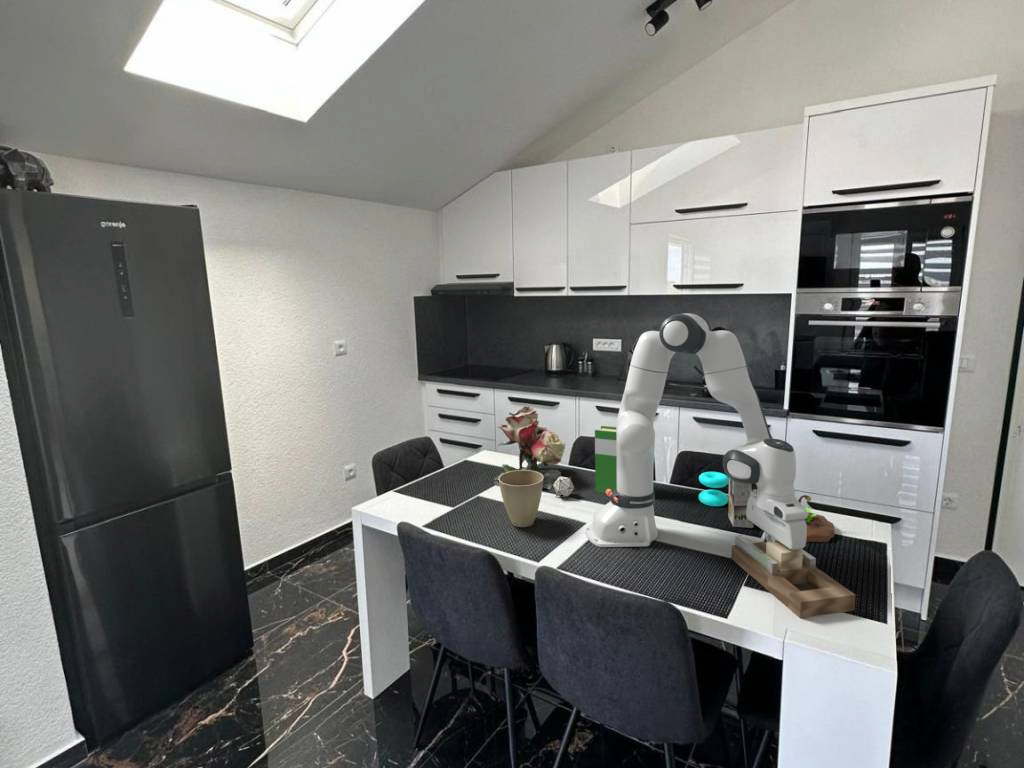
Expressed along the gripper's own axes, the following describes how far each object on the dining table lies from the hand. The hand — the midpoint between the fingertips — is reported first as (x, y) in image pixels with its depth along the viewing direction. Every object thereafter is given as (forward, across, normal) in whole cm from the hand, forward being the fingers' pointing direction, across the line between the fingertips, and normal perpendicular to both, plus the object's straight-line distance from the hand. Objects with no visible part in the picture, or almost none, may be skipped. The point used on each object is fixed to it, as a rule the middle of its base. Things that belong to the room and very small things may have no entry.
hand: (772, 549), depth 144 cm
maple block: (+2, +5, 0) cm, 5 cm away
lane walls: (+2, +1, 0) cm, 2 cm away
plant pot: (+6, -46, -60) cm, 75 cm away
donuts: (+6, -46, +9) cm, 47 cm away
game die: (+6, -64, -41) cm, 76 cm away
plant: (+6, -21, +23) cm, 32 cm away
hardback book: (+6, -64, -18) cm, 67 cm away
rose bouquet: (+6, -87, -48) cm, 100 cm away
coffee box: (+6, -29, +9) cm, 31 cm away
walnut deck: (+6, +7, 0) cm, 9 cm away
